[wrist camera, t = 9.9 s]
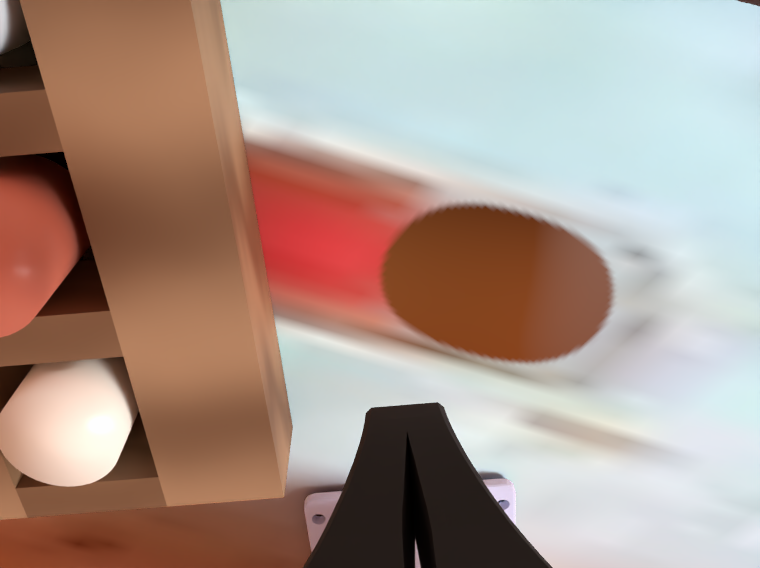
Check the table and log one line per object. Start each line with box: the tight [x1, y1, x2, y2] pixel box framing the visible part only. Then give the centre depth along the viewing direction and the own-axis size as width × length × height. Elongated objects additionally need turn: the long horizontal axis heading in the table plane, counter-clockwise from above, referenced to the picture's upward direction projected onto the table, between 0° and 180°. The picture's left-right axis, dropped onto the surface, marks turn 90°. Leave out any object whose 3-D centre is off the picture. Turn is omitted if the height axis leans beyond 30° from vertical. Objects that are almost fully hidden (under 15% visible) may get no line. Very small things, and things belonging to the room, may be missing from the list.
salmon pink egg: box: [0, 154, 90, 337], centre depth 19 cm, size 4×4×4 cm
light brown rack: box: [0, 0, 293, 520], centre depth 20 cm, size 19×12×4 cm, turn 4°
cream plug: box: [0, 357, 139, 487], centre depth 23 cm, size 4×4×4 cm
